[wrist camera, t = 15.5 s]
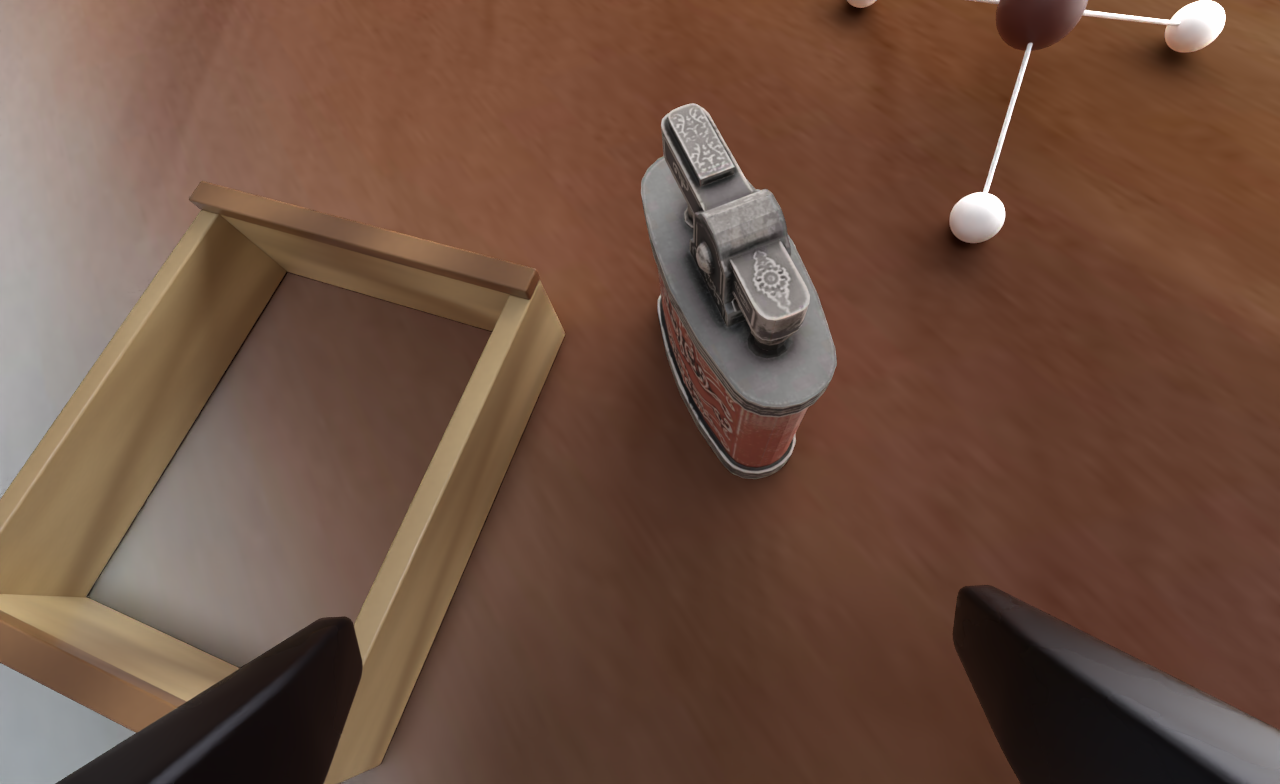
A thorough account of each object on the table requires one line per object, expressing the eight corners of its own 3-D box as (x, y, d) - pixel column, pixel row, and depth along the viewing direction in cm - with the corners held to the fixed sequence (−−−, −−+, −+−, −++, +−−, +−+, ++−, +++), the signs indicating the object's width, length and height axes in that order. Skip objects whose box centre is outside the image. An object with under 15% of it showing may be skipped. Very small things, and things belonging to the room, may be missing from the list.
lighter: (813, 458, 21) (904, 325, 12) (723, 494, 21) (741, 389, 11) (721, 274, 24) (733, 50, 14) (641, 304, 24) (601, 98, 14)
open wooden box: (566, 332, 24) (536, 268, 19) (380, 767, 19) (284, 810, 14) (282, 251, 26) (200, 179, 22) (56, 612, 22) (-105, 610, 17)
